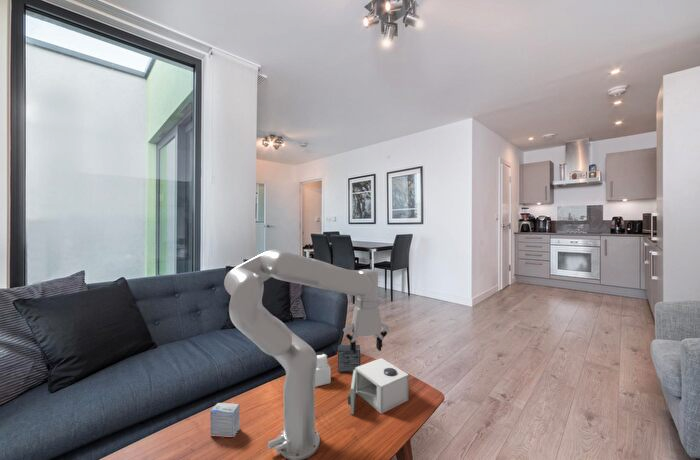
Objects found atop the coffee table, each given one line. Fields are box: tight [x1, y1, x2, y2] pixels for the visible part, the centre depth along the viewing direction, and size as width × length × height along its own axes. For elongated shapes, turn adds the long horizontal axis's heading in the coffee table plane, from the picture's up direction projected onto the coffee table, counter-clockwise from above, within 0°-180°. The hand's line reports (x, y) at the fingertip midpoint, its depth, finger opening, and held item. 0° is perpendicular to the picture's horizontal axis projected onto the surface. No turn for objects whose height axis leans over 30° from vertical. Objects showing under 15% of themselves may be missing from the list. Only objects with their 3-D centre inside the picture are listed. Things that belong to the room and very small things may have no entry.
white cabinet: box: [355, 357, 410, 414], centre depth 111 cm, size 14×16×11 cm
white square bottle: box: [315, 351, 332, 388], centre depth 121 cm, size 7×7×12 cm
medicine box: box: [209, 402, 241, 438], centre depth 91 cm, size 8×4×9 cm, turn 84°
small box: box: [337, 344, 361, 374], centre depth 131 cm, size 11×6×10 cm, turn 91°
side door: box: [347, 370, 357, 415], centre depth 106 cm, size 2×13×9 cm, turn 175°
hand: (366, 350), depth 101 cm, fingers open, 9 cm apart
